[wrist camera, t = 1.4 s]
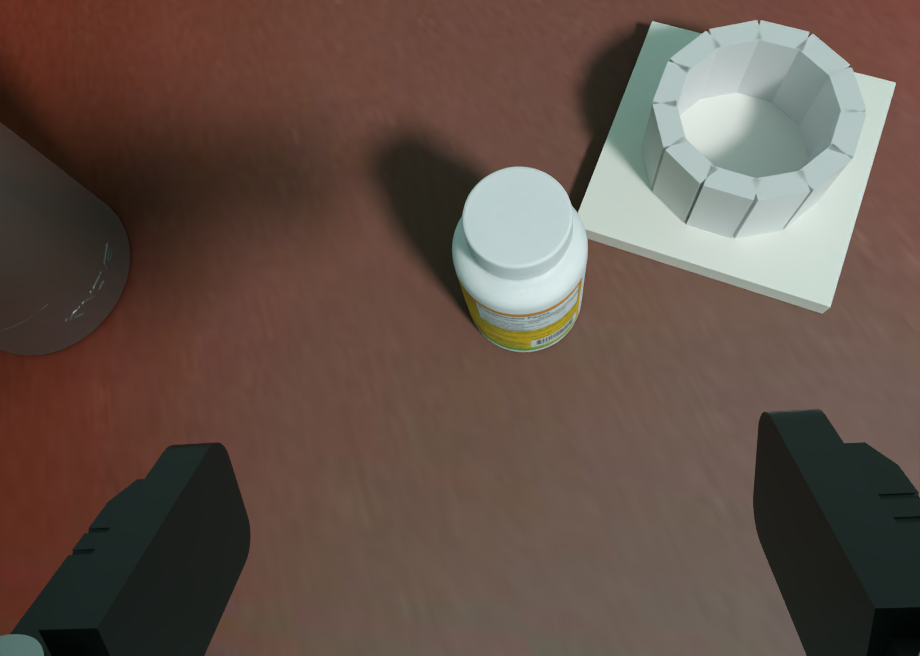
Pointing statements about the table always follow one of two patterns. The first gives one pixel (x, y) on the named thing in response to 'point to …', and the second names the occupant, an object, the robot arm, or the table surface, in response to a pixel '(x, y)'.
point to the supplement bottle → (521, 259)
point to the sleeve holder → (740, 158)
